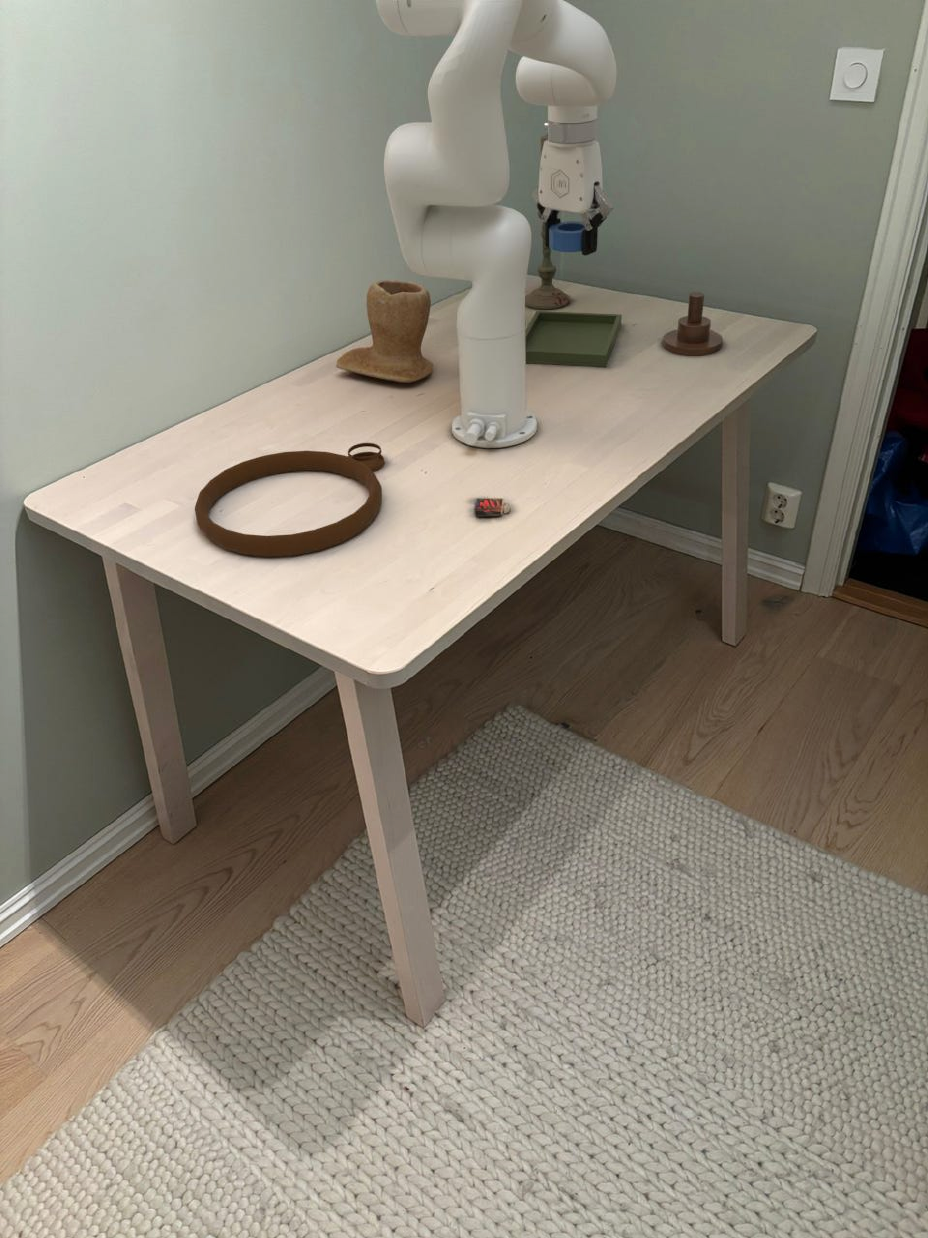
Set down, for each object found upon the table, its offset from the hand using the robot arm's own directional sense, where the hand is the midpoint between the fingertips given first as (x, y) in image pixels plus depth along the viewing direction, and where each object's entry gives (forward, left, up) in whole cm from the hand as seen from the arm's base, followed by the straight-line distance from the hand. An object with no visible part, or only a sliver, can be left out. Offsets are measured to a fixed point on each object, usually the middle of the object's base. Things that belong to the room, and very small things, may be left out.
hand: (570, 248), depth 166 cm
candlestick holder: (+21, +8, -16) cm, 28 cm away
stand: (+2, -21, -16) cm, 27 cm away
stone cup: (-17, +27, -16) cm, 36 cm away
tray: (0, 0, -16) cm, 16 cm away
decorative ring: (-61, +25, -16) cm, 68 cm away
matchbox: (-59, 0, -16) cm, 61 cm away
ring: (0, 0, 0) cm, 0 cm away
